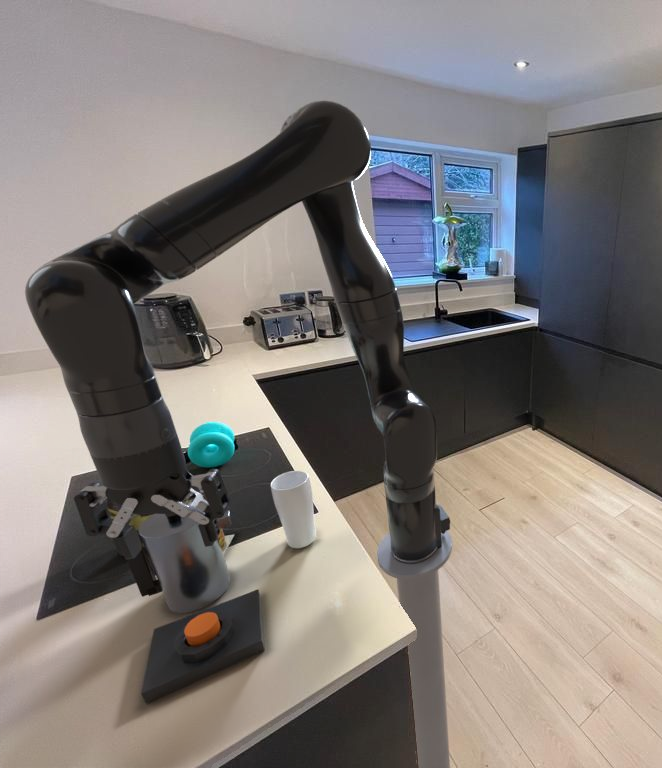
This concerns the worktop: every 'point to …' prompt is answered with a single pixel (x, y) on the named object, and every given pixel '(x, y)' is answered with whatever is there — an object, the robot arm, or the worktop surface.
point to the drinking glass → (295, 507)
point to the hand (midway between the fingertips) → (174, 548)
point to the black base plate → (203, 647)
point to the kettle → (180, 562)
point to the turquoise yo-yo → (211, 444)
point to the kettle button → (202, 629)
